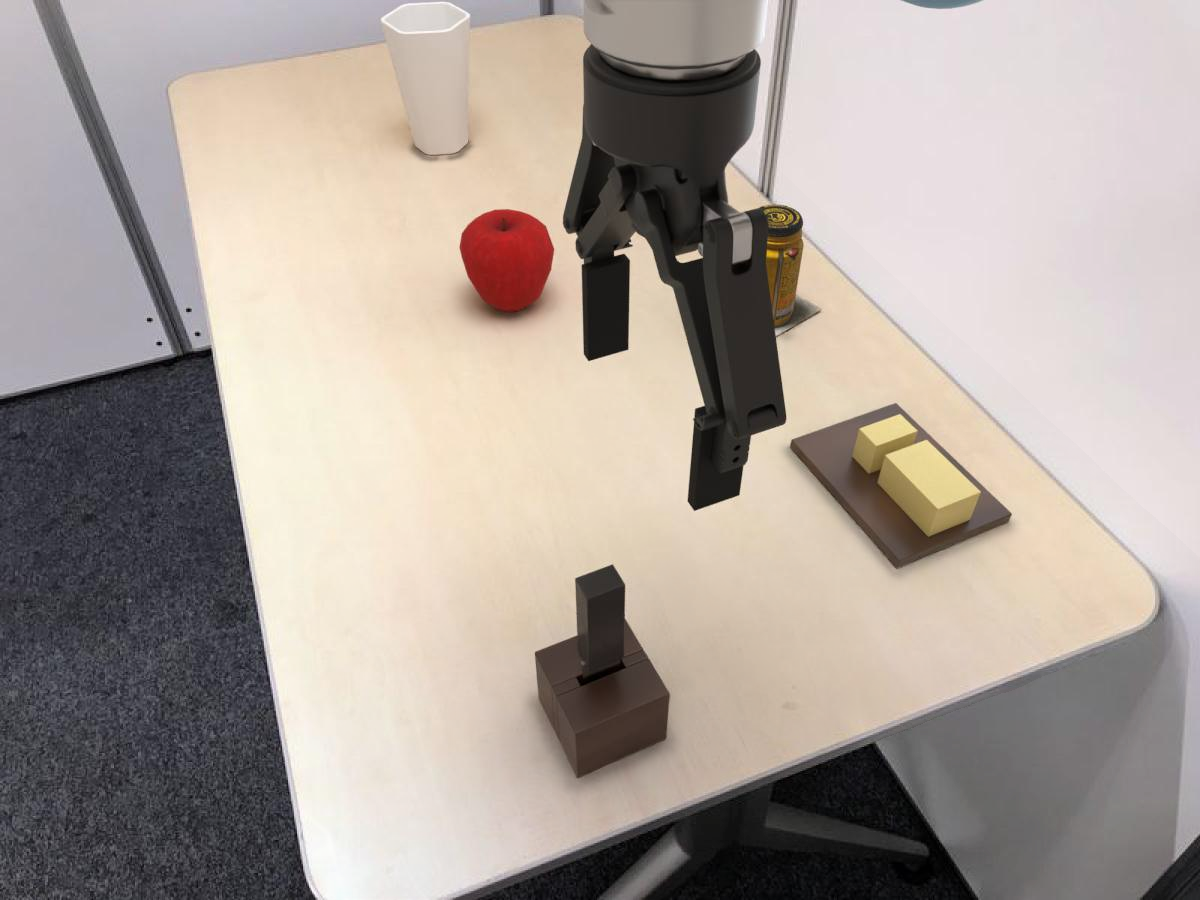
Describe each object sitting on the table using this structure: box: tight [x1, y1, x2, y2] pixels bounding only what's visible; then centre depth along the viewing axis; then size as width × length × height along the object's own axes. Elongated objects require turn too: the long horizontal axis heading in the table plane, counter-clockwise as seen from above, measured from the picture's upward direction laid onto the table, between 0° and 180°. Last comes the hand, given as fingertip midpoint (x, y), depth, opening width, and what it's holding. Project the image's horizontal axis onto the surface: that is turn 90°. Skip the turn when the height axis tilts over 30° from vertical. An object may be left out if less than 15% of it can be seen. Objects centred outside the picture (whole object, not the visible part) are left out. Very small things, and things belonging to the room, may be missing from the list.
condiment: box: [759, 204, 823, 337], centre depth 102 cm, size 7×8×12 cm
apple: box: [459, 208, 555, 313], centre depth 103 cm, size 10×10×11 cm
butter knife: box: [574, 563, 626, 686], centre depth 65 cm, size 2×3×16 cm, turn 115°
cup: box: [380, 1, 471, 156], centre depth 128 cm, size 11×10×17 cm
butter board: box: [789, 402, 1013, 568], centre depth 87 cm, size 16×12×1 cm
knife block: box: [534, 618, 671, 778], centre depth 68 cm, size 7×7×6 cm
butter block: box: [877, 440, 981, 537], centre depth 83 cm, size 7×4×4 cm, turn 25°
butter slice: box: [853, 414, 918, 474], centre depth 87 cm, size 2×4×4 cm, turn 115°
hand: (655, 419), depth 55 cm, fingers open, 13 cm apart
